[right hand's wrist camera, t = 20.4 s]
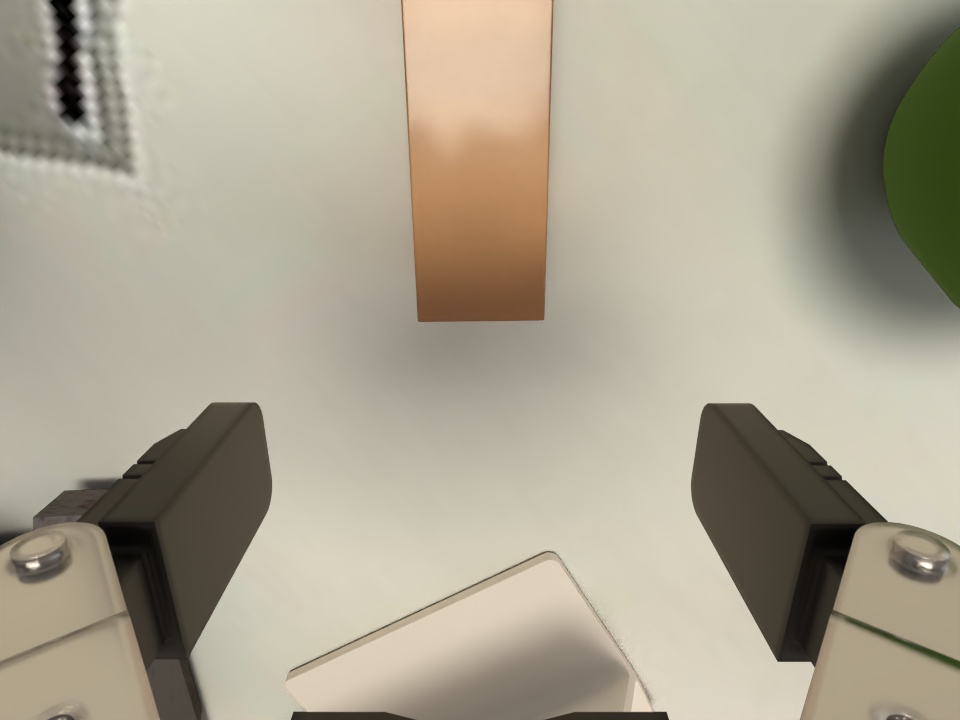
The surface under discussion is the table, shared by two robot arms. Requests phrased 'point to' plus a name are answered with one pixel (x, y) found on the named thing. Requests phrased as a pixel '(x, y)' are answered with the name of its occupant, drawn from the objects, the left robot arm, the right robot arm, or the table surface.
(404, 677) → the tablet stand
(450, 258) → the box
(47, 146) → the table surface
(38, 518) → the toy
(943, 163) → the vase
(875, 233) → the table surface
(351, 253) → the table surface
